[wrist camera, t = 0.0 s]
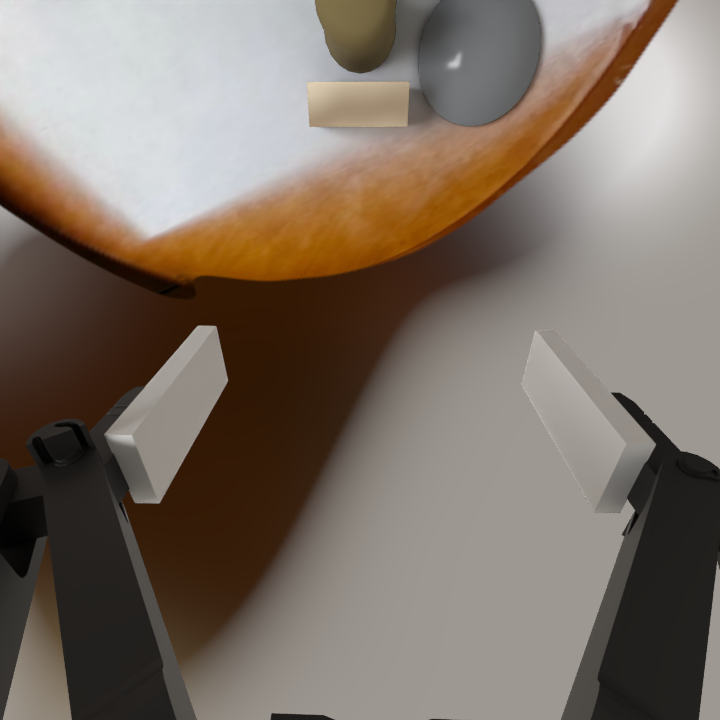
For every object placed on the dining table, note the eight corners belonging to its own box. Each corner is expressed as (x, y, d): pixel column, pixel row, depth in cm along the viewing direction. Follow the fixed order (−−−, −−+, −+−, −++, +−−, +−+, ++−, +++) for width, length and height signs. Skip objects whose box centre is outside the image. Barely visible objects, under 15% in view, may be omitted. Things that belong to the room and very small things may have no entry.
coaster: (422, -22, 31) (423, -25, 30) (550, -23, 31) (554, -26, 30) (414, 126, 36) (414, 126, 35) (523, 126, 36) (526, 126, 35)
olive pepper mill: (403, 58, 33) (416, 32, 24) (337, 84, 35) (324, 69, 25) (385, -35, 31) (390, -105, 21) (313, -3, 32) (288, -57, 22)
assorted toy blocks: (292, -95, 29) (278, -133, 25) (564, -99, 28) (598, -139, 24) (306, 126, 36) (297, 126, 32) (523, 126, 36) (543, 126, 32)
